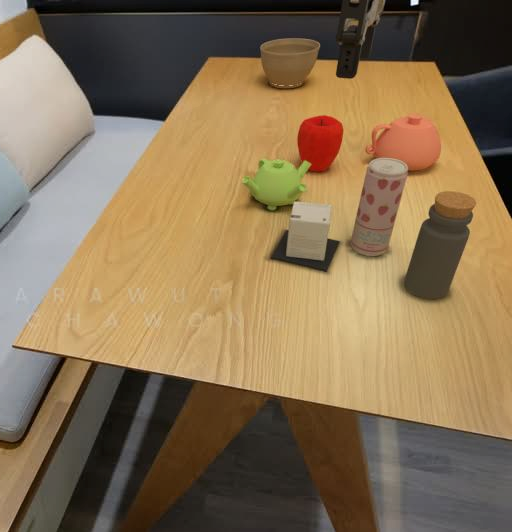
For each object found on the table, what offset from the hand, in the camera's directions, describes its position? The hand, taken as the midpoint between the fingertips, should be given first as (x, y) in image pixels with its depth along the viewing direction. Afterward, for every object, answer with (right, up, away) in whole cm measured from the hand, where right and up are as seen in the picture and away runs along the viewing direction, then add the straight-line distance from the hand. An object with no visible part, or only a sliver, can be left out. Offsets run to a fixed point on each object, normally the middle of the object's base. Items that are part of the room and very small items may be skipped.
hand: (353, 67), depth 64 cm
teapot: (+2, -12, +37) cm, 39 cm away
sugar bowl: (+30, -3, +45) cm, 55 cm away
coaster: (+3, -22, +23) cm, 32 cm away
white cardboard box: (+3, -22, +23) cm, 32 cm away
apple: (+14, -4, +47) cm, 49 cm away
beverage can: (+13, -22, +23) cm, 34 cm away
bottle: (+17, -28, +14) cm, 35 cm away
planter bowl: (+22, +29, +90) cm, 97 cm away
